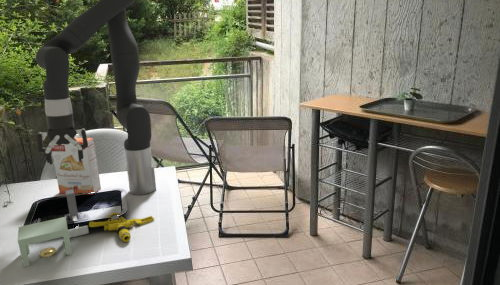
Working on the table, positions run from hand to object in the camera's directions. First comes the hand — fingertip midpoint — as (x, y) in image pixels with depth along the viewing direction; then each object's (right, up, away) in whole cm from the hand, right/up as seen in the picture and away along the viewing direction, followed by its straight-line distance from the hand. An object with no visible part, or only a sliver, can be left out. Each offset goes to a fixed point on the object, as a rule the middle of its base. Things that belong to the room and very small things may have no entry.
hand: (65, 162), depth 129 cm
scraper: (+4, -20, -1) cm, 20 cm away
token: (+2, -25, -16) cm, 30 cm away
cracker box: (-6, -13, +24) cm, 28 cm away
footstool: (+2, -25, -16) cm, 30 cm away
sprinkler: (+21, -21, -5) cm, 30 cm away
